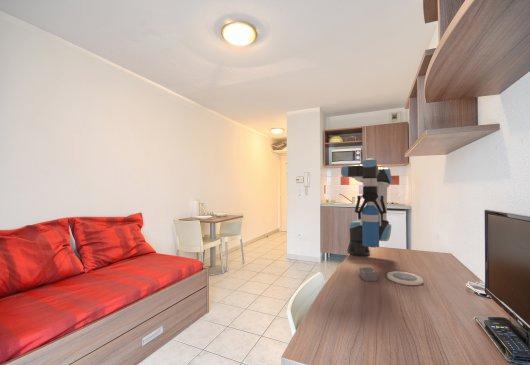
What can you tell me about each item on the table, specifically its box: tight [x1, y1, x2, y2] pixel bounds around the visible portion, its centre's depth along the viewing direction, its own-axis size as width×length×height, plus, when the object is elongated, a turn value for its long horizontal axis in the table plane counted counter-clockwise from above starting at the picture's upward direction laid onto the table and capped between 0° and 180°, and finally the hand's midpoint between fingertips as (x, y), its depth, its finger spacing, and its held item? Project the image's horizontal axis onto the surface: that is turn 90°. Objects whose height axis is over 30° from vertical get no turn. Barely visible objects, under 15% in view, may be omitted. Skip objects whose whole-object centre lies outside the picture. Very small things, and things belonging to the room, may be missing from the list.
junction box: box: [358, 266, 378, 282], centre depth 125 cm, size 8×6×4 cm
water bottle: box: [361, 202, 380, 248], centre depth 137 cm, size 9×9×25 cm
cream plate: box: [386, 270, 424, 286], centre depth 123 cm, size 16×16×1 cm
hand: (370, 225), depth 137 cm, fingers closed on water bottle, 9 cm apart
